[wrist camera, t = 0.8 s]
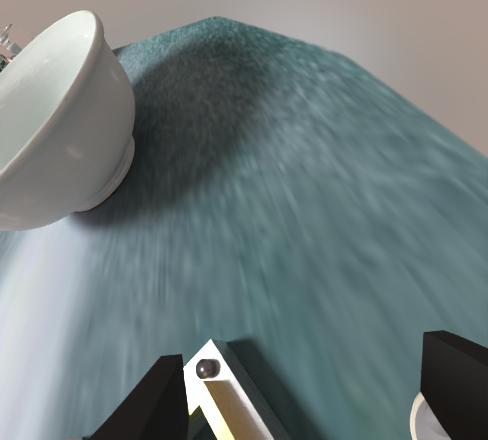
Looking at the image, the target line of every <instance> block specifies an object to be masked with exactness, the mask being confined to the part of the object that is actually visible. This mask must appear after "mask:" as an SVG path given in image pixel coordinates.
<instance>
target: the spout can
mask: <svg viewBox="0 0 488 440" xmlns="http://www.w3.org/2000/svg"><path fill="white" fill-rule="evenodd" d="M410 430H411V435H412V439H413V440H451V439H450V437H449V436H448V435H447V433H446V432H445V431H444V429H443V428H442V426H441V425H440V423H439V422H438V420H437V418H436V417H435V415H434V414H433V412H432V410H431V409H430V407H429V405H428V404H427V402H426V400H425V399H424V397H423V395H422V394H421V392H420V391H419V392H418V394H417V395H416V397H415V400H414V403H413V407H412V411H411V416H410Z"/></svg>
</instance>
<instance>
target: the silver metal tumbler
mask: <svg viewBox="0 0 488 440" xmlns="http://www.w3.org/2000/svg"><path fill="white" fill-rule="evenodd" d="M33 40H34V39H33V38H31V37H30V36H29V35H28V34H26V33H25V32H24V31H22V30H21V29H20V28H18V27H17V26H16V25H15V24H14V23H11V24H9V25H8V26H7V27H6V28H5V29H4V30H3V31H2V32H1V33H0V58H2V59H3V60H4V61H5V62H6V63H8V64H9V63H10V62H11V61H12V60H13V59H14V58H15V57H16V56H17V55H18V54H19V53H20V52H21V51H22V50H23V49H24V48H25V47H26V46H27V45H28V44H29V43H30V42H32V41H33Z"/></svg>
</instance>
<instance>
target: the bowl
mask: <svg viewBox="0 0 488 440" xmlns="http://www.w3.org/2000/svg"><path fill="white" fill-rule="evenodd" d="M134 121H135V99H134V94H133V90H132V86H131V83H130V81H129V78H128V76H127V74H126V72H125V70H124V69H123V67H122V65H121V64H120V62H119V60H118V59H117V58H116V56H115V55H114V53H113V52H112V50H111V49H110V47H109V46H108V44H107V42H106V40H105V38H104V29H103V25H102V22H101V20H100V18H99V17H98V16H97V15H96V14H95V13H94V12H92V11H88V10H84V11H78V12H74V13H72V14H70V15H68V16H66V17H64V18H62V19H61V20H59V21H57V22H56V23H54V24H53V25H52V26H50V27H49V28H47V29H46V30H45V31H43V32H42V33H41V34H40V35H38V36H37V37H36V38H35V39H34V40H33V41H32V42H30V43H29V44H28V45H27V46H26V47H25V48H24V49H23V50H22V51H21V52H20V53H19V54H18V55H17V56H16V57H15V58H14V59H13V60H12V61H11V62H10V63H9V64H8V65H7V66H6V67H5V68H4V69H3V70H2V72H1V73H0V230H4V231H21V230H30V229H35V228H39V227H43V226H46V225H49V224H52V223H54V222H56V221H58V220H60V219H62V218H64V217H66V216H68V215H69V214H71V213H73V212H74V211H76V212H82V211H87V210H90V209H92V208H94V207H96V206H97V205H99V204H100V203H102V202H103V201H104V200H105V199H107V198H108V197H109V196H110V195H111V194H112V193H113V192H114V191H115V190H116V188H117V187H118V186H119V185H120V183H121V182H122V181H123V179H124V177H125V176H126V174H127V172H128V170H129V168H130V166H131V163H132V160H133V157H134V152H135V142H134V138H133V136H132V131H133V127H134Z"/></svg>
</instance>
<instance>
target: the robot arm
mask: <svg viewBox="0 0 488 440" xmlns="http://www.w3.org/2000/svg"><path fill="white" fill-rule="evenodd" d="M420 392H421V394H422V395H423V397H424V399H425V400H426V402H427V404H428V405H429V407H430V409H431V410H432V412H433V414H434V415H435V417H436V418H437V420H438V422H439V423H440V425H441V426H442V428H443V429H444V431H445V432H446V433H447V435H448V436H449V437H450V439H451V440H488V348H486V347H483V346H481V345H479V344H477V343H474V342H472V341H470V340H467V339H465V338H462V337H460V336H458V335H455V334H452V333H450V332H447V331H444V330H442V331H431V332H424V334H423V352H422V370H421V387H420ZM189 415H190V413H189V405H188V397H187V389H186V382H185V374H184V366H183V358H182V354H178V355H167V356H161V357H160V358H159V359H158V360H157V361H156V363H155V364H154V365H153V366H152V367H151V368H150V370H149V371H148V372H147V373H146V375H145V376H144V377H143V378H142V379H141V381H140V382H139V383H138V384H137V385H136V387H135V388H134V389H133V390H132V391H131V393H130V394H129V395H128V396H127V397H126V398H125V400H124V401H123V402H122V403H121V404H120V405H119V407H118V408H117V409H116V410H115V411H114V412H113V413H112V415H111V416H110V417H109V418H108V419H107V420H106V421H105V422H104V423H103V425H102V426H101V427H100V428H99V429H98V430H97V431H96V432H95V433H94V434H93V435H92V436H91V437H90V438H89V439H88V440H187V436H188V426H189Z"/></svg>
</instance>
